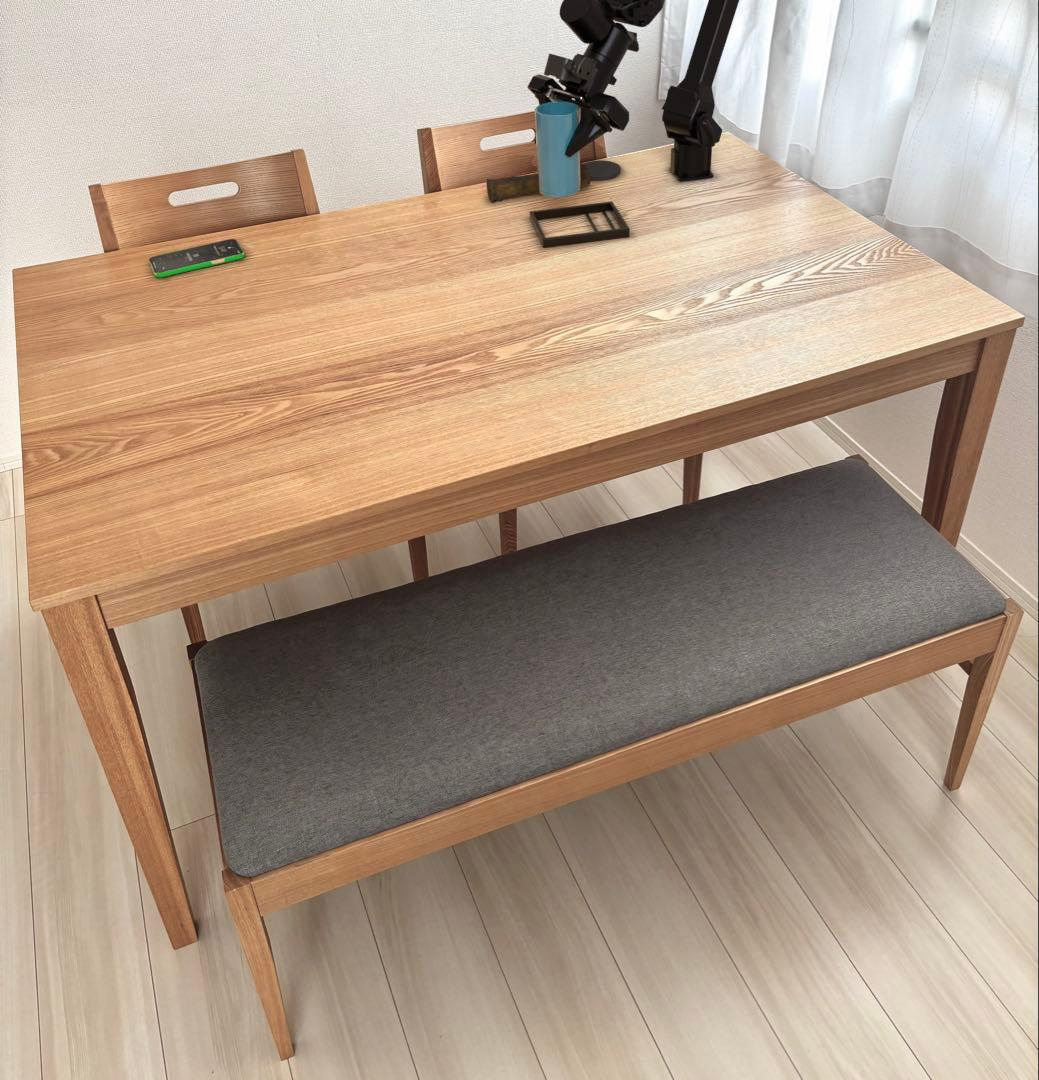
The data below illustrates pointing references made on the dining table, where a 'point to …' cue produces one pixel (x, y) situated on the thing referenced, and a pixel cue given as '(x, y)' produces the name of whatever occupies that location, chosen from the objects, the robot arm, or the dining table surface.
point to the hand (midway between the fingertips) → (551, 150)
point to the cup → (557, 149)
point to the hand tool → (523, 185)
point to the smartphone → (196, 258)
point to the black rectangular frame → (581, 237)
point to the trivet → (602, 170)
